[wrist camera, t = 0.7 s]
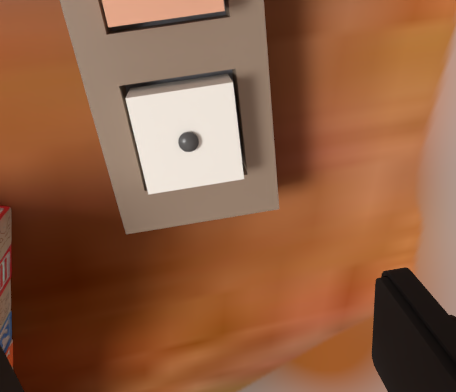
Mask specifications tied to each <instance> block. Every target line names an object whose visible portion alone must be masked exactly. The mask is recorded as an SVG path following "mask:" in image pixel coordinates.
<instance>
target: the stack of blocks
mask: <svg viewBox="0 0 456 392" xmlns="http://www.w3.org/2000/svg"><path fill="white" fill-rule="evenodd" d="M11 241H12V236H11V207H8V206H0V345H1V347H2V349H3V351H4V353H5V354H6V356H7V358H8V360H9V362H10V364H11V366H12V368H13V340H12V311H11V280H10V279H11V277H12V274H11V273H12V266H11Z"/></svg>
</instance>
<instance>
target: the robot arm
mask: <svg viewBox="0 0 456 392" xmlns="http://www.w3.org/2000/svg"><path fill="white" fill-rule="evenodd" d="M372 359H373V363H374V366H375V368H376V370H377V372H378V374H379V376H380V377H381V379H382V381H383V383H384V385H385V387H386V389H387V391H388V392H456V317H455V316H453V315H448V314H447V313H446V311H445V310H444V309H443V308H442V307H441V306H440V304H439V303H438V302H437V301H436V300H435V299H434V298H433V296H432V295H431V294H430V293H429V291H428V290H427V289H426V288H425V287H424V286H423V284H422V283H421V282H420V281H419V280H418V279H417V277H416V276H415V275H414V274H413V273H412V272H411V271H410V270H409V269H408V268H400V269H394V270H388V271H384V272H383V273H382V277H381V278H377V279H376V284H375V303H374V323H373V343H372ZM0 392H24V390H23V388H22V386H21V384H20V382H19V380H18V378H17V376H16V374H15V372H14V370H13V368H12V366H11V364H10V362H9V360H8V358H7V356H6V354H5V353H4V351H3V349H2V347H1V345H0Z"/></svg>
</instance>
